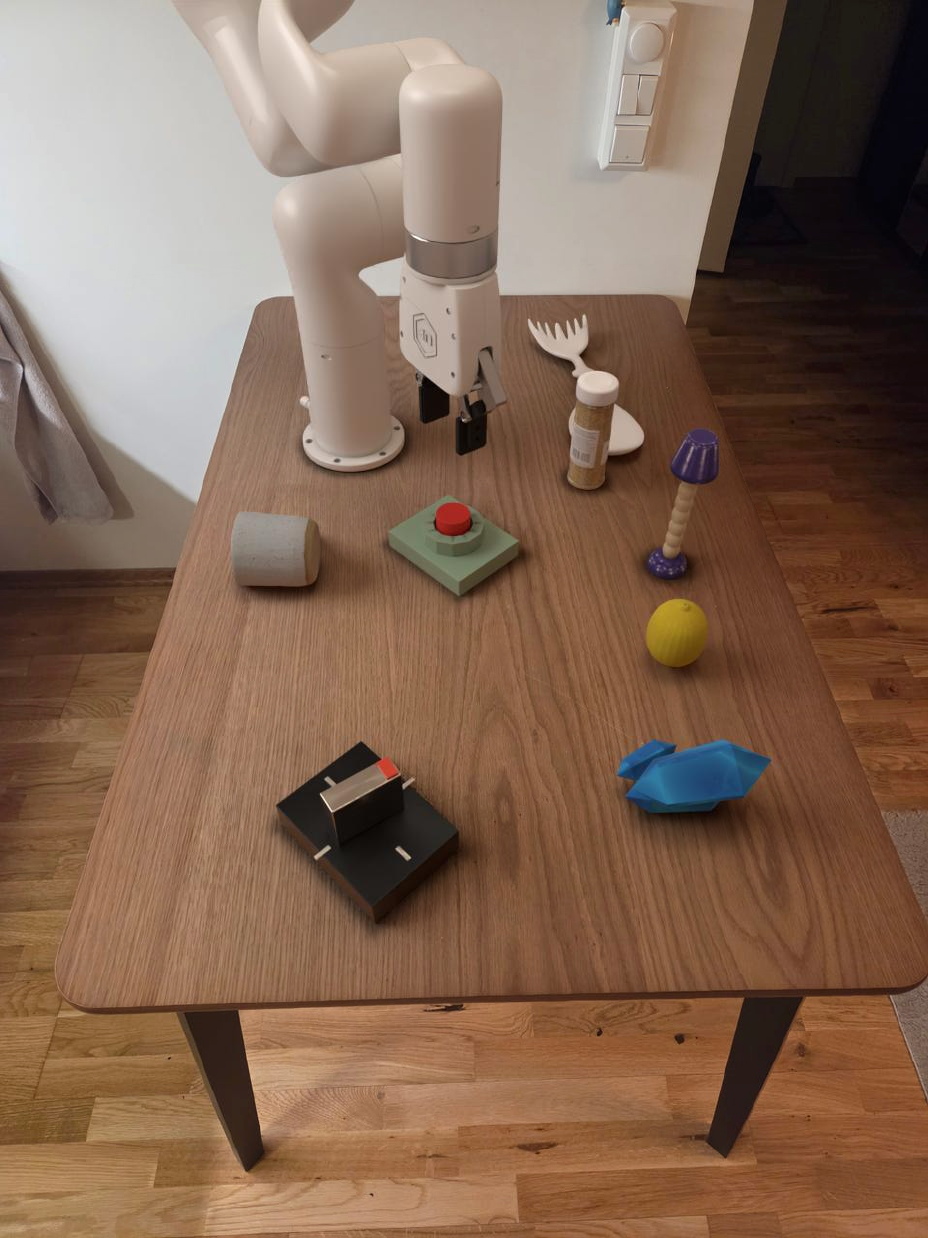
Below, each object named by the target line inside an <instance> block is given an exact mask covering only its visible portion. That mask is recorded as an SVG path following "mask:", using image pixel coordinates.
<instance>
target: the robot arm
mask: <svg viewBox="0 0 928 1238" xmlns="http://www.w3.org/2000/svg"><path fill="white" fill-rule="evenodd" d="M355 1H356V0H170V2H171V4H172V5H173V6H174V8H175V9H176V12H177V13H178V15H180V17H181V18H182V20H183V21H184V23H185V24H186V25H187V27H188V28H189V30H190V31H191V32H192V33H193V35H194V36H195V38H196V39H197V40H198V41H199V43H200V44H201V46H202V47H203V49H204V50H205V52H206V53H207V55H208V56H209V58H210V59H211V61H212V63H213V65H214V67H215V69H216V71H217V74H218V75H219V79H220V80H221V82H222V85H223V87H224V89H225V91H226V93H227V96H228V99H229V101H230V103H231V106H232V107H233V109H234V111H235V114H236V116H237V119H238V120H239V123H240V125H241V127H242V130H243V132H244V134H245V136H246V138H247V141H248V142H249V144H250V147H251V149H252V151H253V152H254V154H255V156H256V158H257V160H258V161H259V162H260V165H261V166H262V167H263V168H264V170H266V171H267V172H268V173H269V174H272V175H274V176H276V177H280V178H293V177H294V178H295V177H299V178H297V179H294V180H293V181H290V183H288V184H286V185H285V186H284V187H282V188H281V190H280V191H279V192H278V193H277V195H276V197H275V199H274V201H273V205H272V221H273V228H274V233H275V236H276V240H277V243H278V245H279V248H280V251H281V254H282V255H281V256H282V258H283V260H284V264H285V267H286V271H287V274H288V278H289V282H290V285H291V291H292V296H293V300H294V306H295V312H296V320H297V327H298V332H299V337H300V345H301V350H302V359H303V365H304V371H305V378H306V385H307V393H308V396H307V395H302V396H301V397H300V399H299V405H300V406H301V407H303V408H304V409H306V410H307V411H308V413H309V419H310V421H309V423H308V424H307V426H306V427H305V429H304V431H303V434H302V445H303V451H304V452H305V454H306V456H307V457H308V458H309V459H310V460H311V462H313V463H315V464H316V465H318V466H320V467H322V468H325V469H328V470H332V471H337V472H344V473H345V472H346V473H347V472H348V473H356V472H363V471H369V470H373V469H377V468H379V467H382V466H384V465H385V464H387V463H389V462H391V461H392V460H394V459H395V458H397V456H398V455H399V454H400V453H401V451H402V449H403V447H404V446H405V445H404V444H405V440H406V439H405V429H404V427H403V425H402V423H401V422H400V421H399V419H398V418H396V417H395V416H394V415H392V414H391V400H390V399H391V398H390V387H389V386H390V385H389V384H390V383H389V372H388V371H389V370H388V357H387V344H386V343H387V341H386V328H385V327H386V326H385V316H384V308H383V305H382V302H381V299H380V297H379V296H378V295H377V293H376V292H375V290H374V289H373V288H372V287H371V286H370V285H369V284H368V283H366V281H364V280H363V279H362V278H360V273H361V272H362V271H363V270H364V269H368V268H370V267H373V266H376V265H379V264H382V263H387V262H390V261H395V260H397V259H401V258H402V263H401V271H400V281H399V311H398V313H399V314H398V316H399V317H398V319H399V321H398V322H399V323H398V324H399V345H400V351H401V354H402V355H403V357H404V358H405V359H406V360H407V361H408V362H409V363H410V364H411V365H412V366H413V367H414V368H415V371H414V379H415V382H416V383H417V384H418V385H419V386H418V411H419V412H418V414H419V421H420V422H421V423H422V424H424V425H427V424H430V423H432V422H435V421H438V420H440V419H443V418H445V417H448V416H449V415H450V414H451V403H450V400H451V399H450V397H451V396H452V397H454V398H456V402H457V407H458V411H459V412H458V413H459V416H457V417H455V421H454V422H455V424H454V425H455V453H456V454H457V455H458V456H460V457H462V456H465V455H468V454H470V453H472V452H475V451H477V450H480V449H482V448H484V447H486V445H487V441H488V440H487V438H488V415H489V414H491V413H492V412H493V411H494V410H497V409H498V408H500V407H502V406H504V405H506V404H507V403H508V397H507V395H506V392H505V390H504V387H503V384H502V382H501V379H500V375H501V369H502V357H503V355H502V354H503V352H502V351H503V329H502V327H503V326H502V307H501V297H500V296H501V295H500V286H499V279H498V273H497V272H496V270H497V269H498V255H499V253H498V252H499V225H500V224H499V218H500V216H499V215H500V194H501V193H500V191H501V165H502V162H501V161H502V136H503V134H502V133H503V105H504V104H503V102H504V101H503V94H502V89H501V86H500V83H499V81H498V80H497V78H496V77H495V76H494V75H493V74H492V73H491V72H489V71H488V70H485V69H483V68H480V67H477V66H474V65H471V64H470V65H469V64H467V62H466V61H465V60H464V59H463V57H462V56H461V55H460V54H459V52H458V51H457V49H455V48H454V47H453V46H452V45H451V44H450V43H448V42H446V41H444V40H443V39H440V38H436V37H432V36H431V37H430V36H428V37H425V36H423V37H414V38H409V39H408V38H407V39H403V40H397V41H391V42H390V41H389V42H380V43H374V44H368V45H362V46H354V47H348V48H342V49H338V50H332V51H326V52H320V51H317V50H316V49H315V48H314V47H313V46H312V45H311V43H312V42H314V41H315V40H317V39H318V38H319V37H320V36H321V35H322V34H324V33H325V32H327V31H328V30H329V29H330V28H331V27H332V26H334V25H335V24H336V23H338V21H339V20H341V19H342V18H343V17H344V16H345V14H347V12H348V11H349V10H350V9H351V7H352V6H353V4H354V3H355ZM474 392H476V393H477V399H478V400H476V401H474V402H473V403H471V404H470V398H469V394H471V393H474Z"/></svg>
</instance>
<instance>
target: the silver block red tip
mask: <svg viewBox="0 0 928 1238" xmlns="http://www.w3.org/2000/svg"><path fill="white" fill-rule="evenodd" d="M381 759H382V760H380V761H378V762H376V763H375V764H373V765H372V766H370V767H368V768H366V769H364V770H362V771H360V772H359V773H357V774H355V775H353V776H351V777H349V778H347V779H346V780H344V781H342V782H340V783H338V784H336V785H334V786H333V787H331V788H329V789H327V790H325V791H323V792H322V793H320V797H321V801H322V806H323V810H324V815H325V819H326V824H327V828H328V829H329V831H330V832H331V834H332V836H333V837H334V839H335V840H336V842H337V844H338V845H341V844H342V843H344V842H346V841H348V840H349V839H351V838H353V837H355V836H356V835H358V834H360V833H362V832H363V831H365V830H367V829H369V828H370V827H372V826H374V825H376V824H377V823H379V822H381V821H383V820H384V819H386V818H388V817H390V816H391V815H393V814H395V813H397V812H398V811H400V810H402V809H404V808H405V806H404V795H403V784H402V779H403V775H402V773H401V771H400V770H399V769H398V767H397V766H396V764H395V763H394V761H393V760H392V758H391V757H390V756H386V757H383V758H381Z"/></svg>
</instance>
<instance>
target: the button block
mask: <svg viewBox="0 0 928 1238" xmlns="http://www.w3.org/2000/svg"><path fill="white" fill-rule="evenodd" d="M451 502H456V503H461V504H463V505H465V506H466V507H468V509H469V510H470V529H469V530H468V532H466V533H465V534H463V535H459V536H453V537H452V536H447V535H443V534H441V533H440V532H439V531H438V530H437V527H436V511H437V509H438V508H439V507H440V506H441V505H443V504H446V503H451ZM388 543H389V545H388V546H389V547H391V548H392V549H393V550H394V551H396V552H398V554H400V555H402V556H403V557H404V558H405V559H407V560H409V561H410V562H411V563H412V564H414V565H415V566H416V567H418V568H419V569H421V570H422V571H423V572H425V573H426V574H428V575H429V576H430V577H432V578H433V579H434V580H436V581H437V582H439V583H440V584H441V585H442V586H443V587H446V588H447V589H448V590H449V591H451V592H452V593H453V594H455V595H456V596H458V597H461V596H462V595H464V594H465V593H467V592H468V591H469V590H471V589H472V588H474V587H475V586H477V585H478V584H479V583H481V582H482V581H484V580H485V579H487V578H488V577H489V576H491V575H492V574H493V573H495V572H496V571H498V570H499V569H501V568H503V566H505V565H506V564H508V563H509V562H511V561H512V560H515V558H517V557H518V556H519V545H520V540H519V539H518V538H516V537H514V536H512V535H511V534H510V533H508V532H506V530H504V529H502V528H500V527H499V526H497V525H496V524H494V523H493V522H492V521H490V520H488V519H487V518H485V517H484V516H482V513H481V512H480V511H478V510H477V509H475V508H473V507H472V506H471V505H468V504H464V503H463V502H461V501H460V500H458V499H456V498H454V497H453V496H452V495H450V494H446V495H444V496H443V497H441V498H440V499H438V500H436V501H434V502H433V503H432V504H430V505H428V506H426V507H425V508H424V509H422V510H420V511H418V512H417V513H415V514H414V515H412V516H410V517H409V518H407V519H405V520H404V521H402V522H400V523H399V524H397V525H395V526H394V527H392V528H391V529H389V530H388Z"/></svg>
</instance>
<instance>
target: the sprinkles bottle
mask: <svg viewBox="0 0 928 1238" xmlns="http://www.w3.org/2000/svg"><path fill="white" fill-rule="evenodd" d="M619 390H620V382H619V379H618V378H617V377H616V376H615V375H614V374H611V373H609V372H606V371H602V370H594V371H590V372H586V373H584V374H582V375H581V376H580V377H579V378H577V380H576V388H575V397H576V402H575V407H576V409H575V416H574V422H573V431H572V436H571V439H570V440H571V441H570V450H569V466H568V471H567V475H566V478H567V479H566V480H567V481H568V483H569V484H570V485H571V486H573V487H575V488H577V489H580V490H583V491H590V490H596V489H599V488H600V487H601V486H602V485H603V484H604V483H605V481H606V480H605V479H606V475H605V473H606V467H607V460H608V456H609V455H608V450H609V442H610V435H611V425H612V417H613V411H614V404H616V401H617V399H618V396H619Z"/></svg>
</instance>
